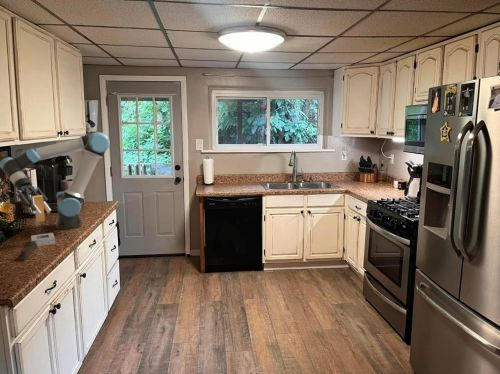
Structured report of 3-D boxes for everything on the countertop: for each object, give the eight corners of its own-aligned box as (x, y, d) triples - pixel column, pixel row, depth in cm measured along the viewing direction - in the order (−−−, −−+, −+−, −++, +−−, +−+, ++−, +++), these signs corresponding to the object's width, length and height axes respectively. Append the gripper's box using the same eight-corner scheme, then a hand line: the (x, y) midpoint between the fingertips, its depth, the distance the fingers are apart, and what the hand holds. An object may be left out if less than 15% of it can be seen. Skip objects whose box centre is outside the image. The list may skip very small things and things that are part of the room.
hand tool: (29, 249, 200) (28, 240, 199) (37, 248, 201) (36, 240, 200) (17, 262, 182) (15, 253, 181) (26, 261, 183) (25, 252, 182)
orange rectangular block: (44, 219, 211) (42, 195, 208) (45, 221, 207) (42, 196, 205) (36, 220, 208) (33, 195, 206) (36, 222, 205) (34, 197, 203)
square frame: (53, 238, 218) (52, 232, 217) (55, 243, 209) (54, 237, 208) (31, 241, 212) (30, 235, 211) (32, 247, 203) (32, 240, 202)
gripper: (32, 183, 219) (55, 213, 215) (1, 188, 202) (26, 221, 199) (38, 174, 216) (62, 205, 213) (7, 179, 199) (32, 212, 196)
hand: (44, 212), depth 206 cm, fingers closed on orange rectangular block, 5 cm apart
